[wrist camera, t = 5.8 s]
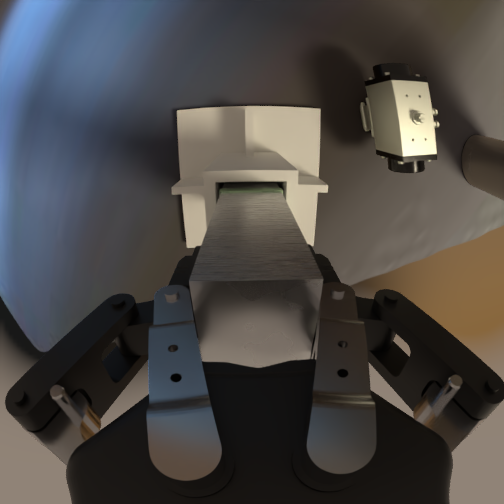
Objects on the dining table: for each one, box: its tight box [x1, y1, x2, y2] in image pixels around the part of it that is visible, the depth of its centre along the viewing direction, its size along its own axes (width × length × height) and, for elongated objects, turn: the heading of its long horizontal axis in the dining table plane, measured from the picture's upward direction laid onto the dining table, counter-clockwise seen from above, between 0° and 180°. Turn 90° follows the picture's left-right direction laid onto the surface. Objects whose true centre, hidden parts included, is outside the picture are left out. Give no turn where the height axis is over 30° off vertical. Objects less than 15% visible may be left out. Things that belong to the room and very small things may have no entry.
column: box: [189, 181, 323, 368], centre depth 18 cm, size 4×4×20 cm
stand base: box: [171, 106, 328, 248], centre depth 26 cm, size 17×18×16 cm
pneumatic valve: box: [359, 63, 439, 173], centre depth 24 cm, size 6×12×12 cm, turn 12°
